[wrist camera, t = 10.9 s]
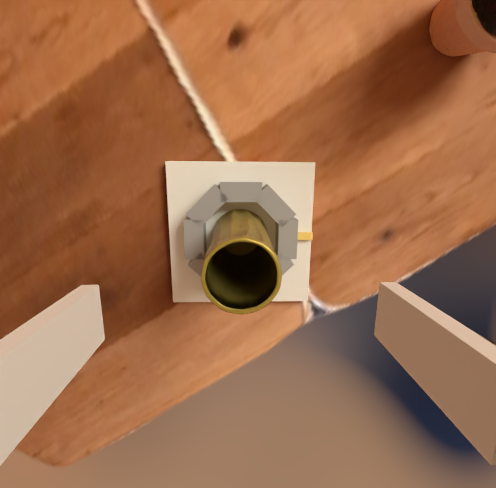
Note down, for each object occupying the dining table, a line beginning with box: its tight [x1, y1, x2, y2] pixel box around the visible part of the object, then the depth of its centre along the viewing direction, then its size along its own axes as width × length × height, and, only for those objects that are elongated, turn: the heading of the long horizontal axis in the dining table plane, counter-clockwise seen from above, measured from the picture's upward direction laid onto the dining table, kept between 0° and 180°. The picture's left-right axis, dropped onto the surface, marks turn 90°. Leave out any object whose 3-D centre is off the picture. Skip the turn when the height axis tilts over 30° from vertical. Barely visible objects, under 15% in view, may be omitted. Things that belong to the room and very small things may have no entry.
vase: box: [201, 209, 282, 314], centre depth 25 cm, size 6×6×14 cm
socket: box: [165, 161, 315, 302], centre depth 31 cm, size 16×16×4 cm
